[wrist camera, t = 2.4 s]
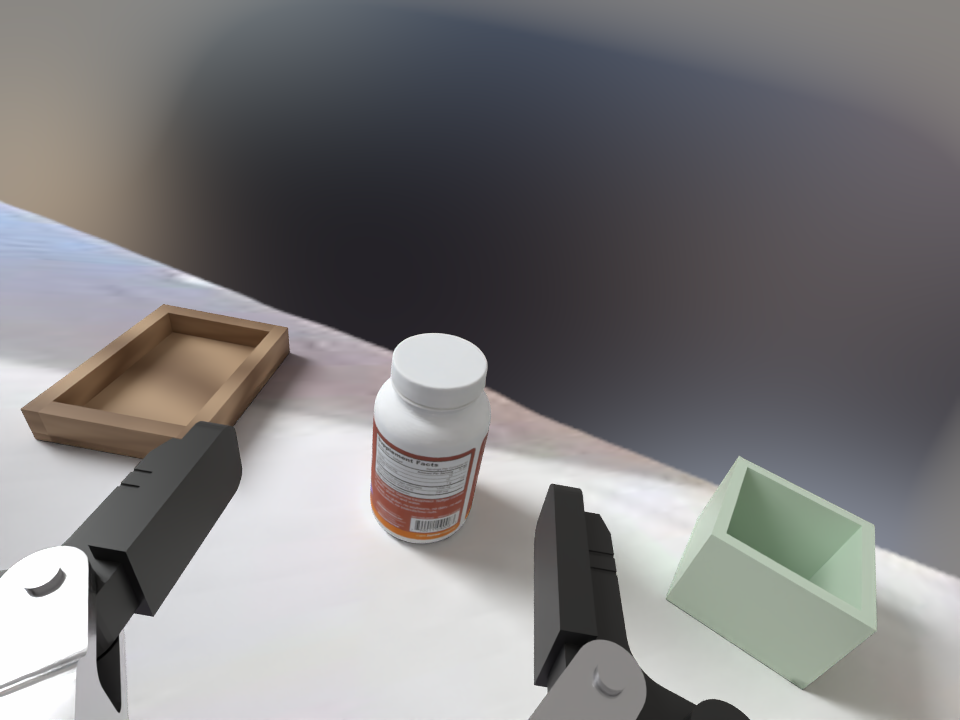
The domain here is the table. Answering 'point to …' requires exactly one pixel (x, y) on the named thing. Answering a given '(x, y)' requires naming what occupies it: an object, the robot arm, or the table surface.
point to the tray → (160, 382)
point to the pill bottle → (429, 437)
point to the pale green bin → (779, 574)
